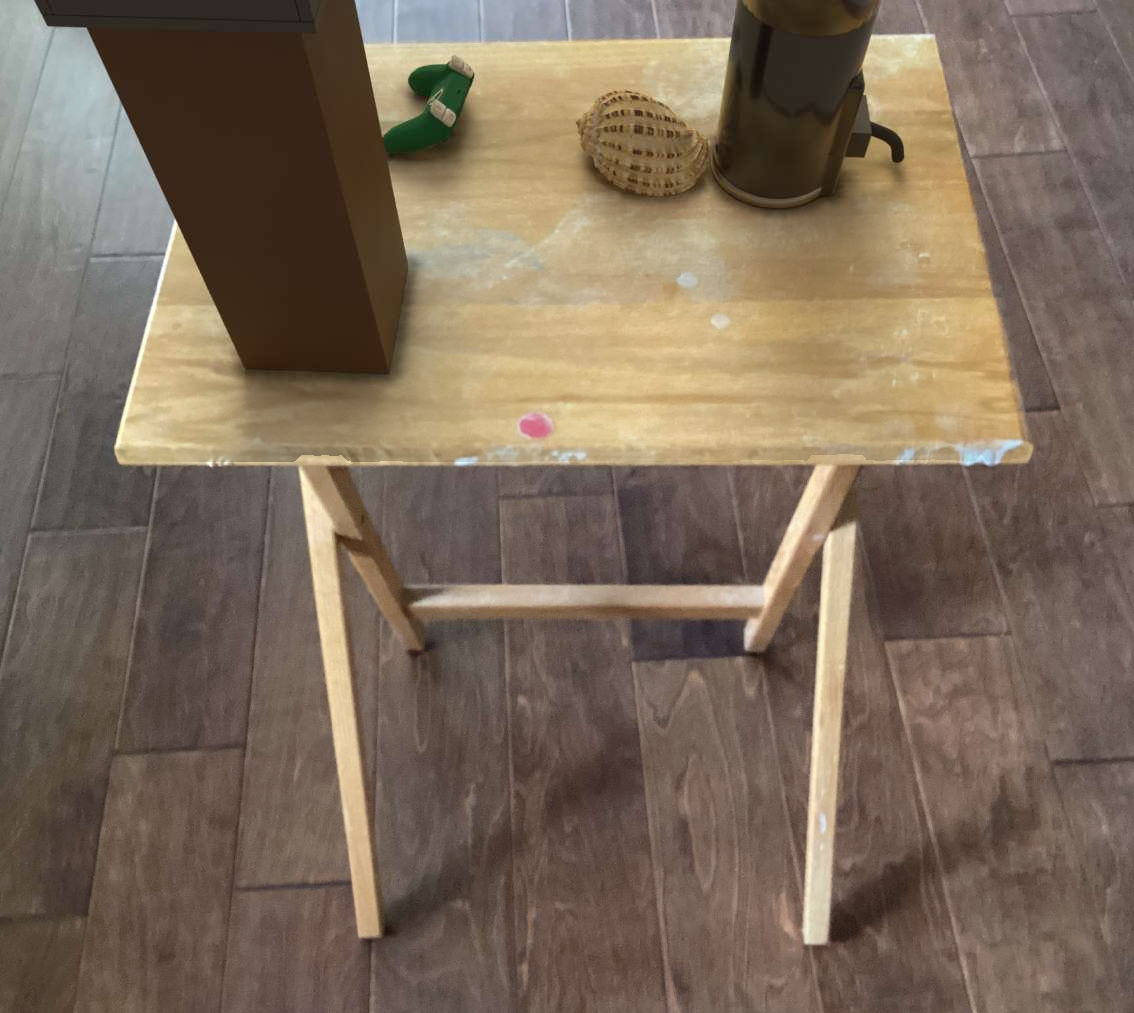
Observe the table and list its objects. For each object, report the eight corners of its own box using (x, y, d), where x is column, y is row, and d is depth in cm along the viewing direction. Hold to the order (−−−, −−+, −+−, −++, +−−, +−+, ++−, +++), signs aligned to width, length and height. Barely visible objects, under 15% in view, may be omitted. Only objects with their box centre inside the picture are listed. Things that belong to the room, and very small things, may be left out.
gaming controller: (412, 179, 79) (458, 143, 75) (374, 147, 77) (420, 108, 72) (442, 104, 83) (487, 67, 79) (407, 72, 81) (452, 32, 77)
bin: (425, 254, 72) (336, -245, 45) (403, 387, 66) (285, -96, 39) (261, 248, 73) (73, -250, 45) (224, 381, 66) (-19, -103, 39)
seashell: (668, 154, 82) (560, 123, 77) (706, 95, 77) (593, 58, 73) (689, 220, 78) (576, 192, 73) (730, 162, 73) (613, 127, 69)
